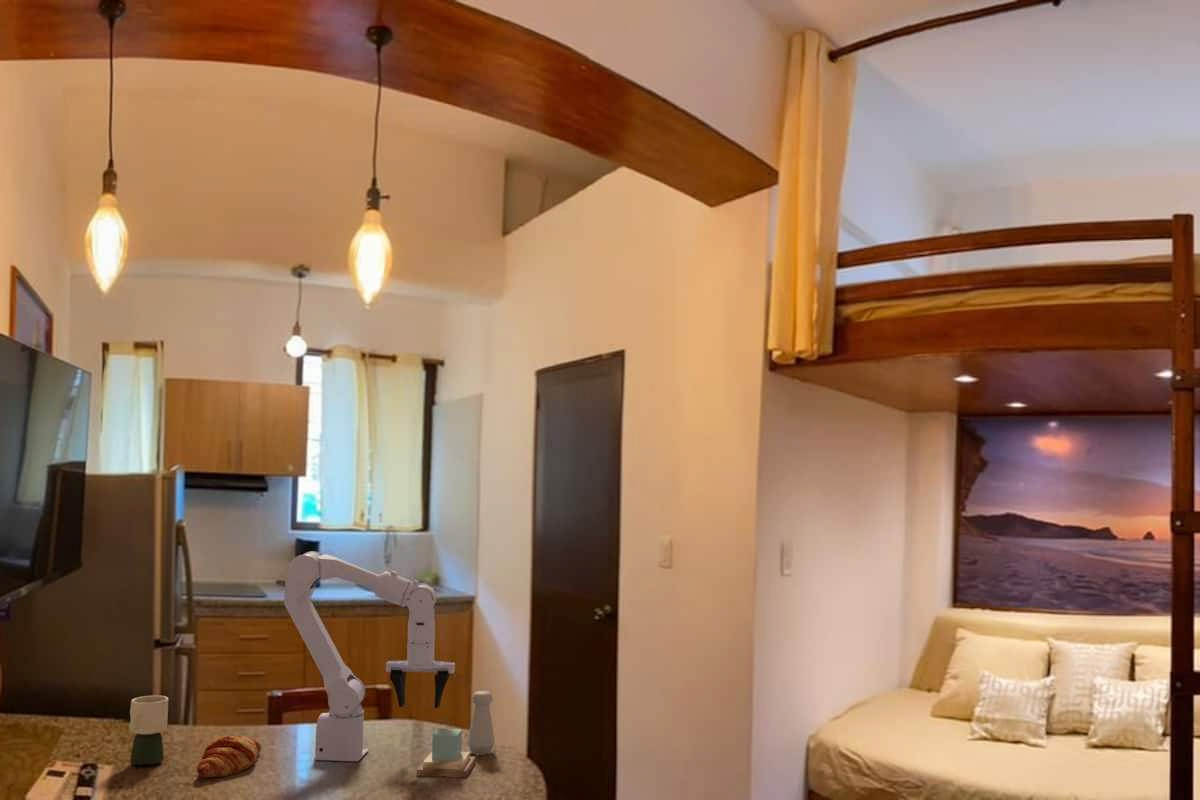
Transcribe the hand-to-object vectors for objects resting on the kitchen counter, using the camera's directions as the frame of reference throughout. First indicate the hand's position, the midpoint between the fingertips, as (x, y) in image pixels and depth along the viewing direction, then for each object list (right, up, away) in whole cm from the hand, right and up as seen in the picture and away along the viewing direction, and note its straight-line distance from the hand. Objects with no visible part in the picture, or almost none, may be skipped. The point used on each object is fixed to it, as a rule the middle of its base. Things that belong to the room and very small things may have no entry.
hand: (419, 706), depth 213 cm
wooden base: (+7, -10, -9) cm, 15 cm away
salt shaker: (+13, -11, +3) cm, 17 cm away
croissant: (-36, -10, -10) cm, 39 cm away
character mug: (-54, -9, -9) cm, 55 cm away
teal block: (+7, -8, -9) cm, 14 cm away
